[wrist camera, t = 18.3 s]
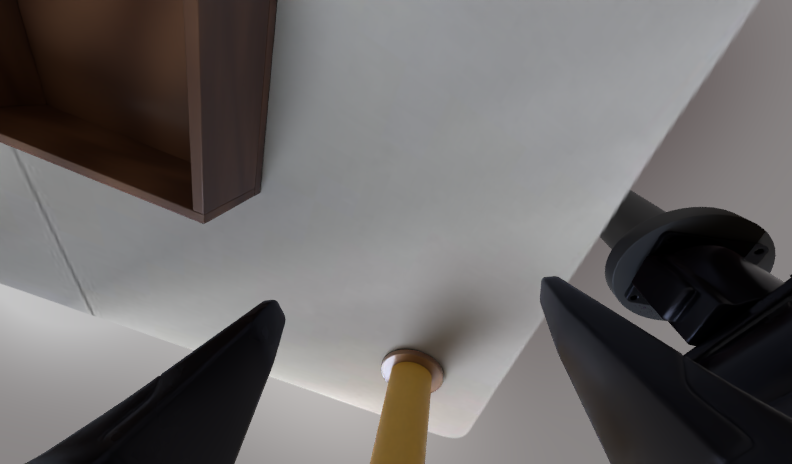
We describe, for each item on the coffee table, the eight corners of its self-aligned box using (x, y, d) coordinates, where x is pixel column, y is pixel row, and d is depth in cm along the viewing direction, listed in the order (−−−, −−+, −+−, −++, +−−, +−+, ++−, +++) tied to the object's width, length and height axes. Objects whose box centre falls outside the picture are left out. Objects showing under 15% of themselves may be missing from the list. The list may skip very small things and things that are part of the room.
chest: (278, -14, 17) (196, -59, 12) (260, 193, 25) (204, 224, 19) (-16, -132, 17) (-234, -230, 12) (53, 109, 25) (-62, 118, 19)
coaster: (447, 356, 30) (447, 361, 29) (438, 395, 33) (438, 400, 33) (383, 343, 31) (382, 347, 30) (380, 382, 34) (379, 387, 34)
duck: (415, 356, 30) (392, 513, 19) (439, 382, 31) (430, 544, 20) (373, 371, 32) (331, 517, 22) (397, 395, 34) (368, 544, 23)
